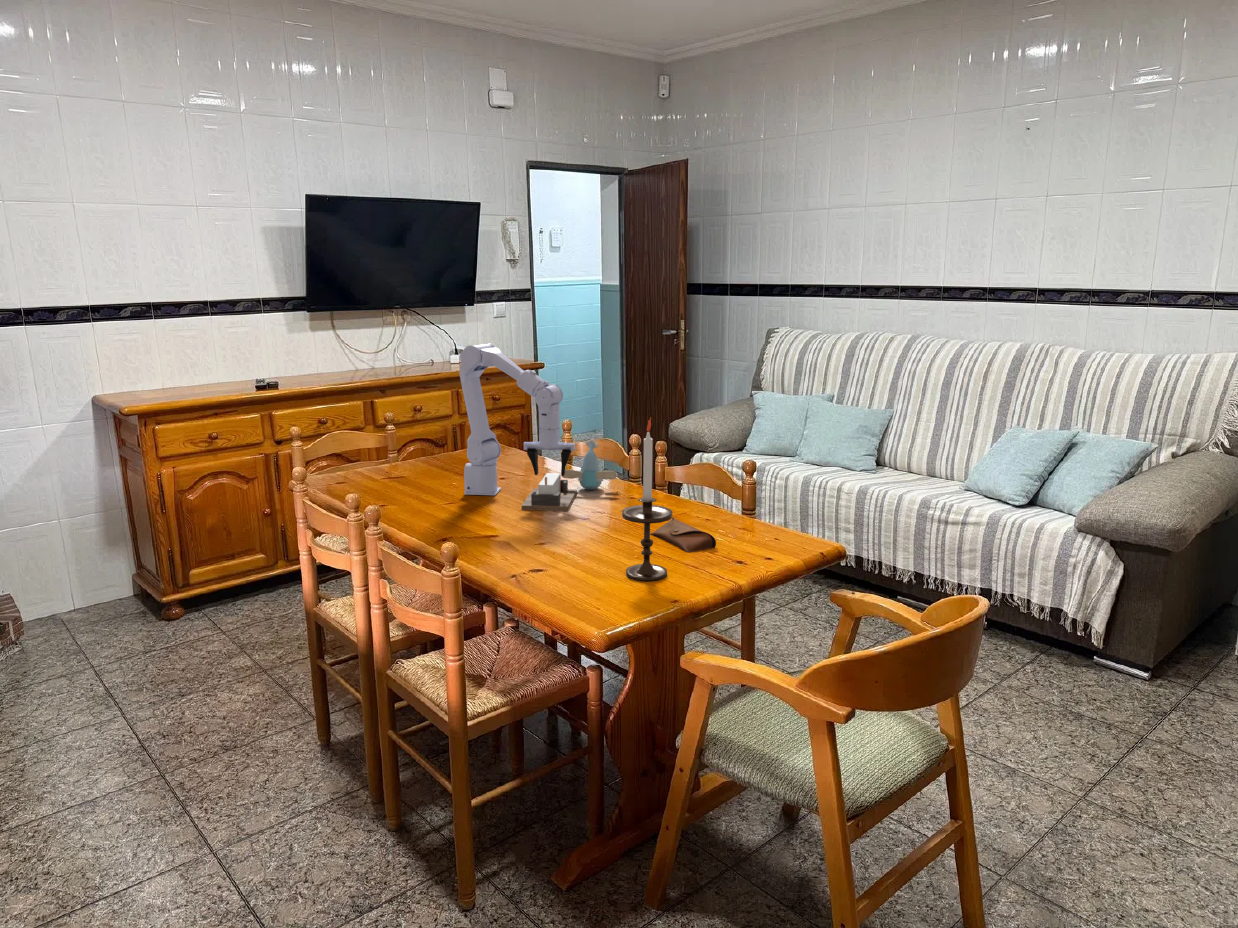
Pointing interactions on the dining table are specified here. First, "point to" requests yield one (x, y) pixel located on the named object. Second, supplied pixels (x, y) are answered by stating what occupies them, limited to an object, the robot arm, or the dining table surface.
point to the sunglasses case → (685, 536)
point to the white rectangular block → (550, 484)
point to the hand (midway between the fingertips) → (549, 474)
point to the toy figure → (590, 470)
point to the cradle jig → (550, 499)
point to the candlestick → (647, 520)
